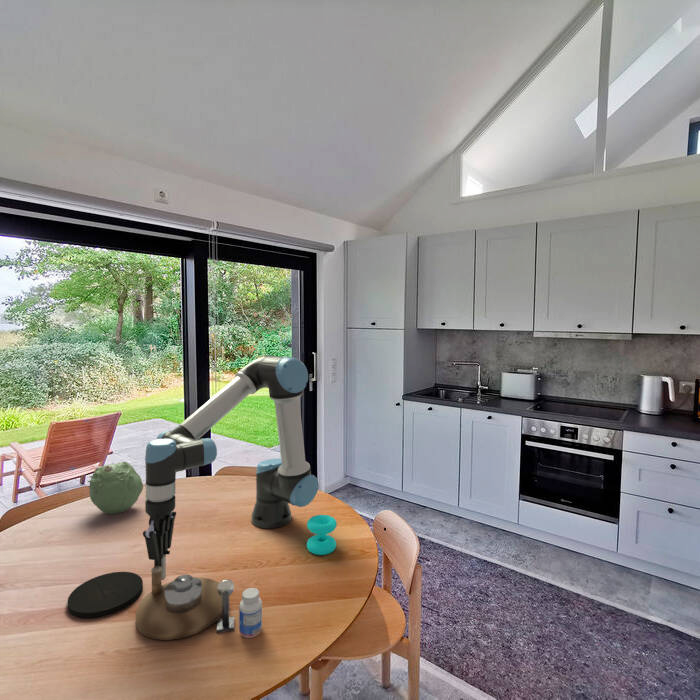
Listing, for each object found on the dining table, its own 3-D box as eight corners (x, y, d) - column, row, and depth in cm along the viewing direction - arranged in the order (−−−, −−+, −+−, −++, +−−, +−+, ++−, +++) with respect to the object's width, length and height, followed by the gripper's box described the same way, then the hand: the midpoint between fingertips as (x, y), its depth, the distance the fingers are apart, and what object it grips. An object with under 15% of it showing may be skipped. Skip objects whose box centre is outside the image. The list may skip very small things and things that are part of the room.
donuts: (300, 519, 141) (322, 510, 149) (300, 548, 142) (322, 538, 149) (321, 529, 135) (342, 519, 142) (320, 560, 135) (342, 548, 143)
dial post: (234, 619, 107) (234, 574, 107) (233, 630, 103) (234, 583, 103) (217, 621, 106) (217, 576, 106) (216, 633, 102) (216, 586, 102)
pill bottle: (241, 623, 106) (241, 585, 105) (263, 622, 106) (263, 585, 106) (237, 639, 100) (237, 600, 100) (260, 638, 101) (260, 599, 100)
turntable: (220, 575, 124) (220, 548, 124) (233, 623, 105) (233, 591, 104) (136, 594, 115) (136, 565, 114) (134, 651, 95) (134, 616, 95)
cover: (199, 587, 116) (199, 566, 116) (203, 607, 108) (203, 584, 108) (164, 596, 112) (163, 574, 112) (165, 617, 104) (165, 594, 104)
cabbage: (150, 509, 169) (150, 461, 168) (99, 526, 154) (98, 473, 153) (132, 499, 179) (131, 453, 178) (82, 514, 164) (81, 464, 163)
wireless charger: (95, 577, 124) (95, 570, 124) (154, 579, 124) (154, 572, 124) (50, 618, 107) (50, 611, 107) (119, 621, 106) (119, 614, 106)
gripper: (160, 486, 122) (160, 563, 124) (133, 505, 109) (133, 591, 111) (185, 488, 121) (184, 566, 123) (160, 508, 109) (159, 594, 111)
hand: (160, 578), depth 117 cm, fingers closed
